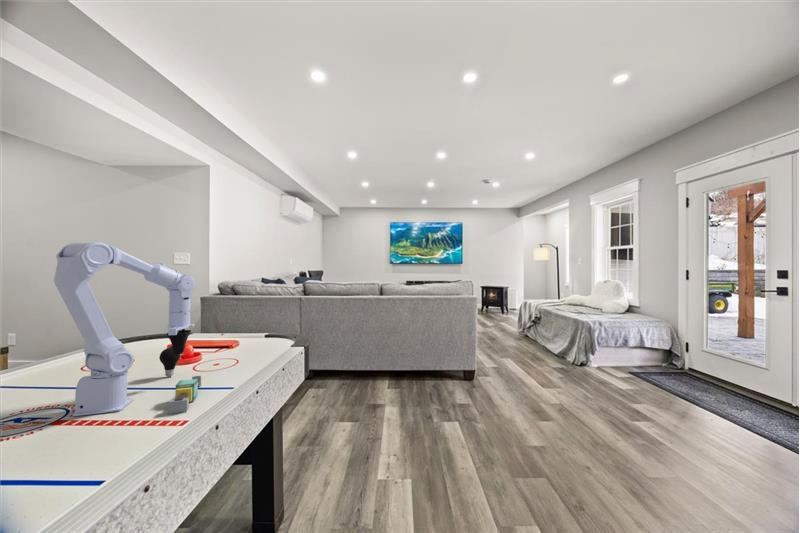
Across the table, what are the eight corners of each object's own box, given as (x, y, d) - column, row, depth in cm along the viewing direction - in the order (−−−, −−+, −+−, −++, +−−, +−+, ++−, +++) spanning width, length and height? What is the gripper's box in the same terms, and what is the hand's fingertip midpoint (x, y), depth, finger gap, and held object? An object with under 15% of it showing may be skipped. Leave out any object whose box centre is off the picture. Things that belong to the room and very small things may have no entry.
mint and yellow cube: (175, 402, 85) (175, 385, 85) (179, 397, 89) (180, 380, 89) (194, 400, 87) (194, 383, 87) (197, 395, 91) (197, 378, 91)
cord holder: (186, 411, 81) (187, 395, 81) (168, 414, 79) (168, 397, 79) (204, 385, 100) (204, 371, 100) (189, 386, 99) (190, 372, 99)
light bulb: (184, 374, 110) (184, 346, 111) (170, 380, 105) (171, 350, 105) (168, 373, 111) (169, 345, 111) (154, 379, 105) (155, 349, 105)
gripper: (188, 313, 95) (187, 358, 95) (199, 308, 109) (198, 347, 109) (160, 314, 93) (159, 360, 93) (175, 309, 106) (174, 349, 106)
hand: (178, 353), depth 100 cm, fingers closed
